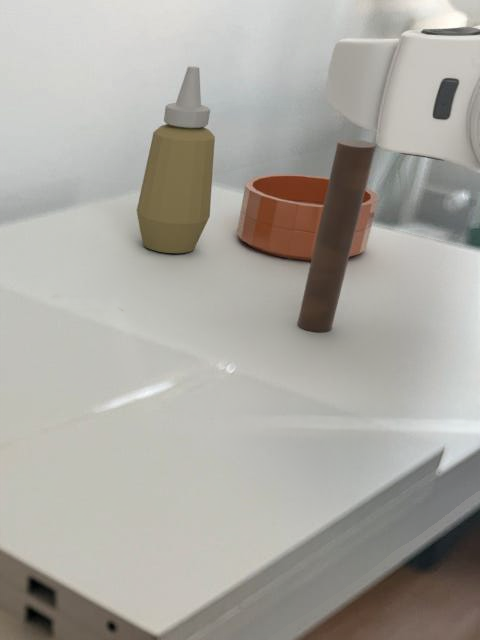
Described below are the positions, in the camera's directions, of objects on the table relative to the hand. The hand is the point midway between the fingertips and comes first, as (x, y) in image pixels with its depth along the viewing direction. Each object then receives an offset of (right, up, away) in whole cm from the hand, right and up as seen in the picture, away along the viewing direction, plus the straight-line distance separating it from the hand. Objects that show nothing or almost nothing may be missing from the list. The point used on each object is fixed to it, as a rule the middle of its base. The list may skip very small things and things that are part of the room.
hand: (444, 62), depth 73 cm
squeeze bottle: (-13, +3, +43) cm, 45 cm away
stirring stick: (-2, -11, +25) cm, 27 cm away
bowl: (+3, +5, +47) cm, 47 cm away
